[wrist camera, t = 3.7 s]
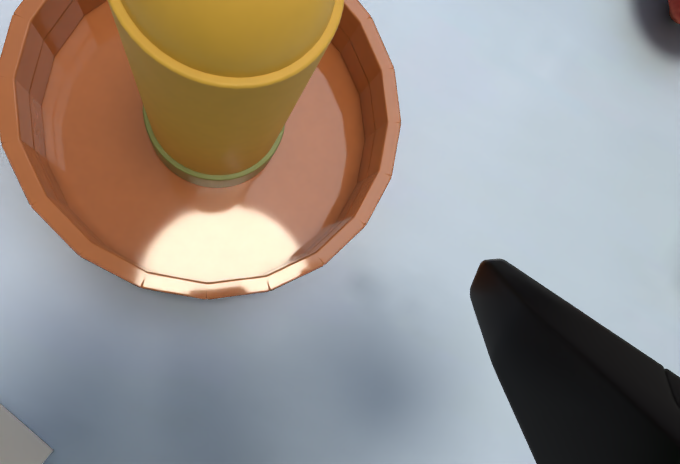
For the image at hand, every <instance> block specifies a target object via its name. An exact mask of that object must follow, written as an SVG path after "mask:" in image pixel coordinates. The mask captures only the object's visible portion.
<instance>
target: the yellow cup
mask: <svg viewBox="0 0 680 464" xmlns="http://www.w3.org/2000/svg"><path fill="white" fill-rule="evenodd" d="M108 3H109V6H110V9H111V12H112V15H113V18H114V21H115V24H116V27H117V29H118V32H119V35H120V38H121V41H122V44H123V47H124V50H125V53H126V56H127V58H128V61H129V64H130V67H131V70H132V73H133V76H134V79H135V82H136V85H137V88H138V90H139V93H140V96H141V99H142V102H143V118H144V123H145V127H146V131H147V133H148V136H149V138H150V141H151V143H152V146H153V148H154V150H155V152H156V154H157V155H158V157H159V158H160V160H161V161H162V162H163V163H164V164H165V165H166V166H167V167H168V168H169V169H170V170H171V171H172V172H173V173H175V174H176V175H177V176H179V177H181V178H182V179H184V180H186V181H188V182H190V183H193V184H196V185H200V186H204V187H210V188H223V187H230V186H235V185H238V184H241V183H243V182H245V181H247V180H249V179H251V178H253V177H254V176H255V175H257V174H258V173H259V172H260V171H261V170H262V169H264V167H265V166H266V165H267V164H268V162H269V161H270V159H271V158H272V156H273V154H274V153H275V151H276V149H277V148H278V146H279V144H280V142H281V139H282V136H283V133H284V128H285V123H286V121H287V119H288V118H289V116H290V114H291V112H292V110H293V109H294V107H295V105H296V103H297V101H298V100H299V98H300V96H301V94H302V92H303V91H304V89H305V87H306V85H307V83H308V82H309V80H310V78H311V76H312V74H313V73H314V71H315V69H316V67H317V65H318V64H319V62H320V60H321V58H322V56H323V55H324V53H325V51H326V49H327V47H328V46H329V44H330V42H331V40H332V39H333V37H334V35H335V32H336V30H337V28H338V25H339V23H340V20H341V16H342V12H343V7H344V0H108Z"/></svg>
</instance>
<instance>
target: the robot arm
mask: <svg viewBox="0 0 680 464" xmlns="http://www.w3.org/2000/svg"><path fill="white" fill-rule="evenodd" d="M470 298H471V301H472V304H473V308H474V311H475V314H476V317H477V320H478V323H479V326H480V329H481V332H482V335H483V338H484V341H485V344H486V347H487V350H488V354H489V356H490V359H491V362H492V365H493V367H494V369H495V372H496V374H497V376H498V379H499V381H500V383H501V385H502V387H503V390H504V392H505V394H506V396H507V399H508V401H509V403H510V405H511V408H512V410H513V412H514V414H515V416H516V419H517V421H518V423H519V425H520V428H521V430H522V432H523V434H524V436H525V439H526V441H527V443H528V445H529V448H530V450H531V452H532V454H533V457H534V459H535V461H536V463H537V464H680V377H679V376H677V375H676V374H674V373H673V372H671V371H670V370H668V369H664V367H663V366H662V365H661V364H659V363H658V362H656V361H655V360H653V359H652V358H650V357H649V356H647V355H646V354H644V353H643V352H641V351H640V350H638V349H637V348H635V347H634V346H632V345H631V344H629V343H628V342H626V341H625V340H623V339H622V338H620V337H619V336H617V335H616V334H614V333H613V332H611V331H610V330H608V329H607V328H605V327H604V326H602V325H601V324H599V323H598V322H596V321H595V320H593V319H592V318H590V317H589V316H587V315H586V314H584V313H583V312H581V311H580V310H578V309H577V308H575V307H574V306H573V305H571V304H570V303H568V302H567V301H565V300H564V299H562V298H561V297H559V296H558V295H556V294H555V293H553V292H552V291H550V290H549V289H547V288H546V287H544V286H543V285H541V284H540V283H538V282H537V281H535V280H534V279H532V278H531V277H529V276H528V275H526V274H525V273H523V272H522V271H520V270H519V269H517V268H516V267H514V266H513V265H511V264H510V263H508V262H507V261H505V260H503V259H490V260H484V261H483V262H481V264H480V265H479V268H478V270H477V273H476V275H475V278H474V280H473V282H472V285H471V288H470Z"/></svg>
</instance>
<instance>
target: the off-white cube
mask: <svg viewBox="0 0 680 464" xmlns="http://www.w3.org/2000/svg"><path fill="white" fill-rule="evenodd" d="M52 452H53V449H52V448H51V447H49V446H48V445H47V444H46V443H45V442H44V441H43V440H41V439H40V438H39V437H38V436H37V435H36V434H35V433H33V432H32V431H31V430H30V429H29V428H28V427H27V426H25V425H24V424H23V423H22V422H21V421H20V420H19V419H17V418H16V417H15V416H14V415H13V414H12V413H10V412H9V411H8V410H7V409H6V408H5V407H4V406H2V405H1V404H0V464H43V462H44V461H45V460H46V459H47V458H48V456H49V455H50V454H51V453H52Z"/></svg>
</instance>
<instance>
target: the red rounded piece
mask: <svg viewBox="0 0 680 464" xmlns="http://www.w3.org/2000/svg"><path fill="white" fill-rule="evenodd" d="M668 3H669V14H670V17H671V19H672V20H673V21H674V22H676V23H677V24H680V0H668Z"/></svg>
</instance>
